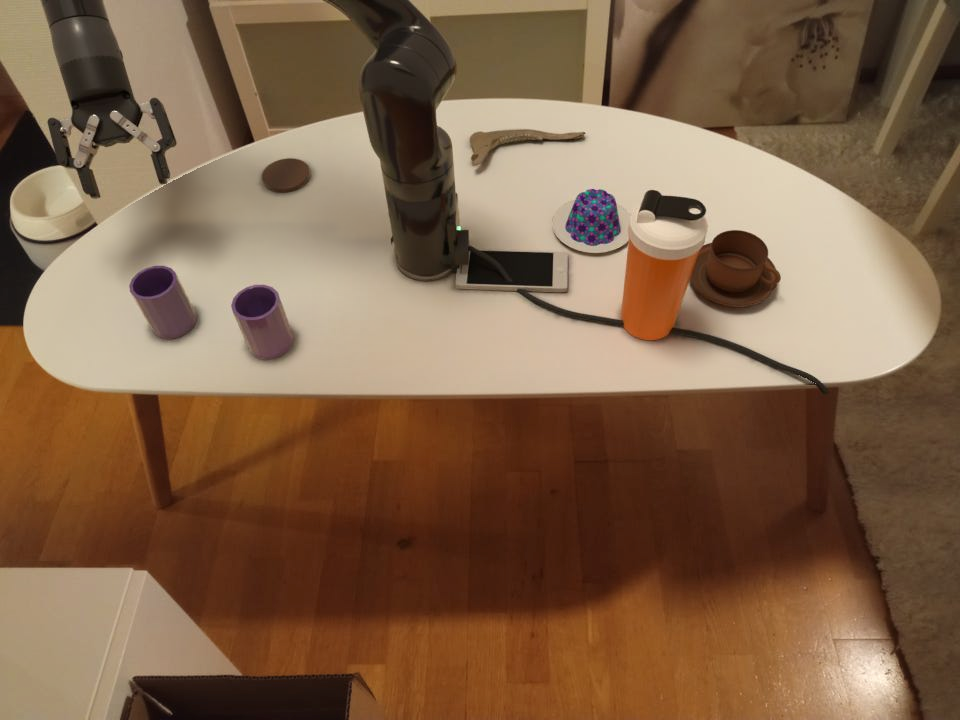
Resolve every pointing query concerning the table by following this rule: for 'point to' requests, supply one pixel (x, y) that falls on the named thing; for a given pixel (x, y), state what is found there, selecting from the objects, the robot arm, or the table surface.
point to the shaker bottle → (660, 261)
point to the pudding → (592, 222)
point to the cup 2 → (262, 321)
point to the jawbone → (490, 140)
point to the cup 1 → (163, 301)
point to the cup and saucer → (735, 270)
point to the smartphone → (515, 271)
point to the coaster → (286, 175)
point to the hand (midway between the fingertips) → (130, 190)
